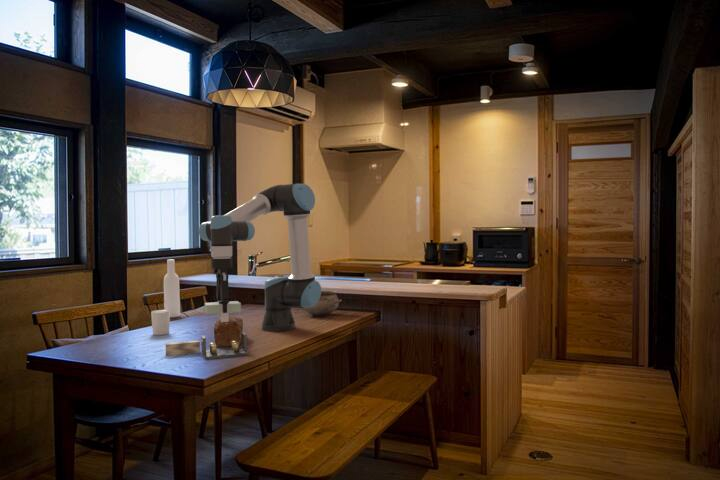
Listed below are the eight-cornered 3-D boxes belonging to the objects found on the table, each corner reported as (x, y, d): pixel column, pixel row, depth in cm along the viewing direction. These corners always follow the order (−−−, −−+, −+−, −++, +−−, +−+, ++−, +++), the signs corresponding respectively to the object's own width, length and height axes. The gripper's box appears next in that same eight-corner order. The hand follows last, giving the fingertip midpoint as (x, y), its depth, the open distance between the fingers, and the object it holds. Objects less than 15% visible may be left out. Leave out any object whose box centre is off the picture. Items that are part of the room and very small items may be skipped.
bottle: (171, 318, 300) (170, 260, 299) (161, 317, 304) (159, 259, 303) (183, 315, 307) (181, 259, 306) (173, 314, 311) (171, 258, 310)
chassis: (243, 348, 221) (242, 330, 221) (248, 355, 210) (248, 336, 210) (200, 352, 216) (200, 334, 216) (204, 359, 205) (203, 339, 204)
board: (237, 308, 218) (237, 300, 218) (241, 311, 211) (240, 303, 211) (204, 310, 214) (204, 302, 214) (207, 313, 207) (206, 305, 206)
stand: (199, 350, 220) (198, 340, 219) (200, 352, 217) (199, 341, 217) (165, 354, 215) (165, 343, 215) (166, 355, 212) (165, 344, 212)
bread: (241, 346, 227) (240, 320, 227) (213, 347, 226) (212, 322, 225) (244, 337, 245) (243, 313, 245) (218, 338, 244) (217, 314, 244)
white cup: (164, 335, 252) (163, 312, 252) (148, 335, 254) (147, 312, 253) (173, 332, 260) (173, 309, 260) (157, 331, 261) (157, 309, 261)
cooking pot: (289, 317, 296) (289, 293, 295) (310, 311, 312) (310, 289, 312) (331, 320, 283) (331, 295, 283) (350, 314, 300) (350, 290, 300)
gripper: (208, 257, 220) (209, 316, 221) (214, 259, 201) (216, 325, 201) (228, 256, 223) (229, 315, 224) (236, 258, 204) (237, 323, 204)
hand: (223, 319), depth 212 cm, fingers closed on board, 8 cm apart
